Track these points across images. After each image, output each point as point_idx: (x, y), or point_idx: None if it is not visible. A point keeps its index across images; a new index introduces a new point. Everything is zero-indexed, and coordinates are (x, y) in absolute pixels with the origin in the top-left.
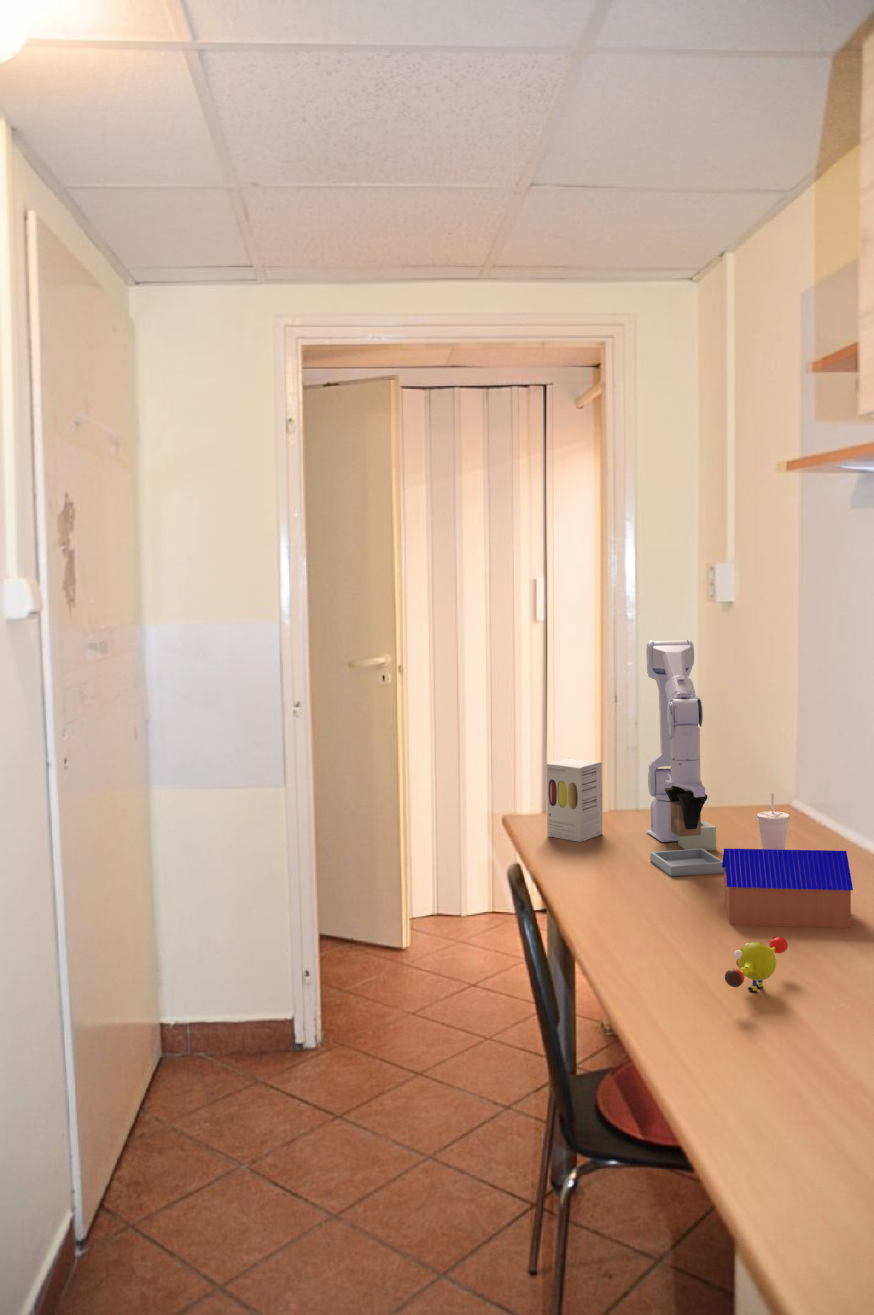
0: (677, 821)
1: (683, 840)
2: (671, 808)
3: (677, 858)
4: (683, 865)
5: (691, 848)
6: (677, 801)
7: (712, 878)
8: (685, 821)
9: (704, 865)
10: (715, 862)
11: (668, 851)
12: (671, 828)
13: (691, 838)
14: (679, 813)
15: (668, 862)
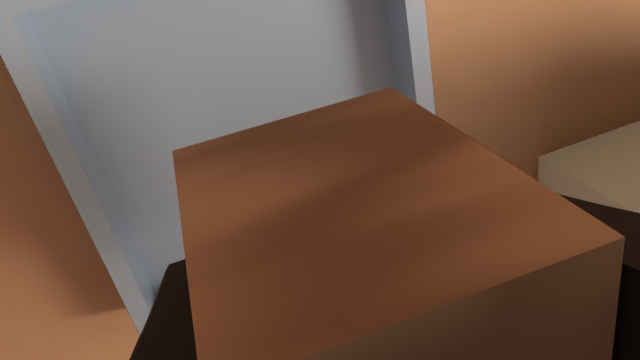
0: (235, 208)
1: (633, 148)
2: (506, 202)
3: (395, 83)
4: (33, 100)
5: (548, 173)
6: (624, 339)
7: (10, 243)
8: (152, 311)
9: (92, 233)
10: (140, 296)
11: (413, 35)
12: (385, 102)
13: (587, 196)
14: (194, 311)
15: (318, 16)
